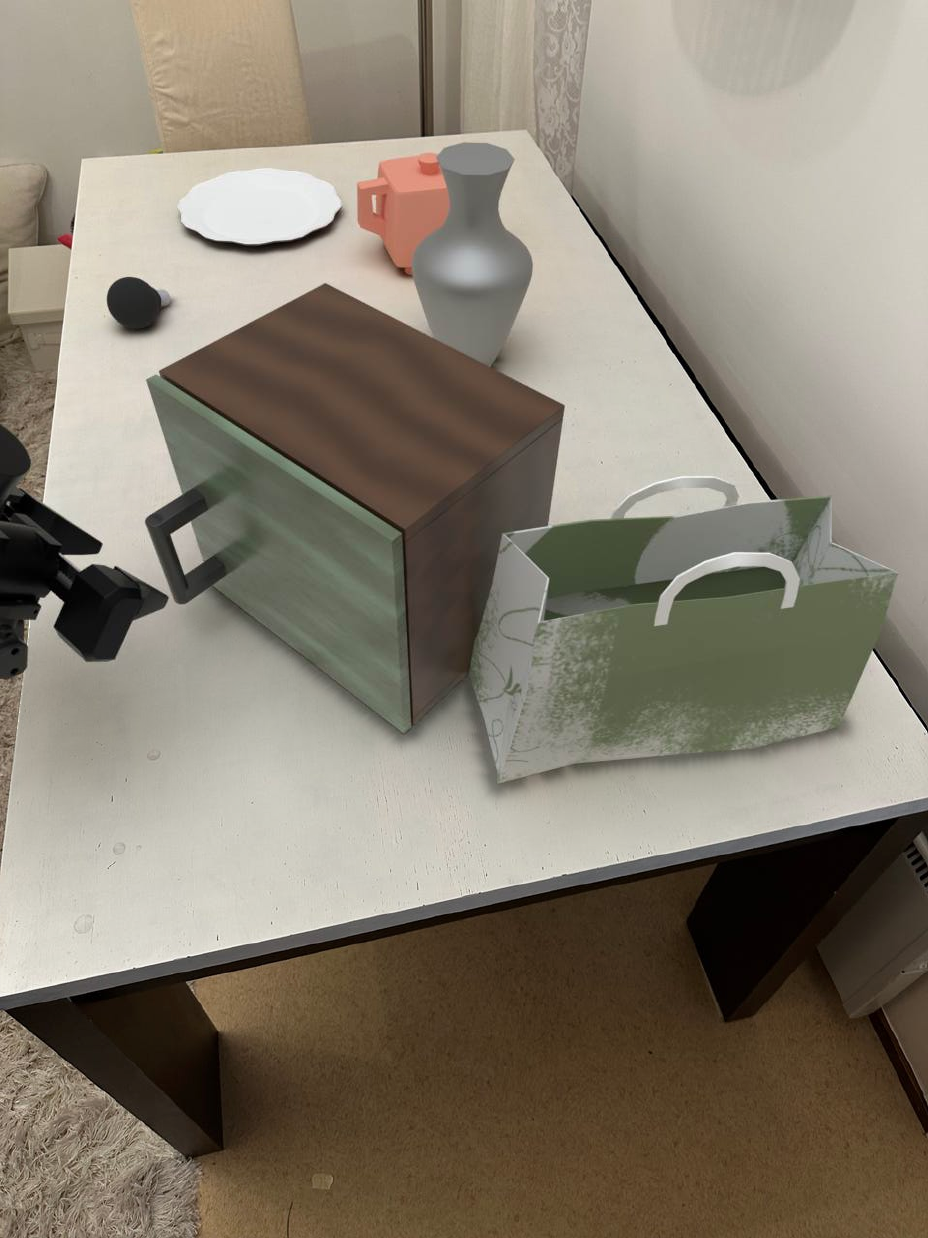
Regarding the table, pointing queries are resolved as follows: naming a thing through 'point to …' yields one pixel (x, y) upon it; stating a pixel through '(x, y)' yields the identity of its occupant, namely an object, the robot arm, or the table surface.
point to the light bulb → (135, 302)
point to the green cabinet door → (285, 552)
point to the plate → (259, 206)
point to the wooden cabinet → (395, 450)
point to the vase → (472, 257)
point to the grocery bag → (673, 632)
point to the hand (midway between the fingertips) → (131, 574)
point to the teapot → (404, 204)
